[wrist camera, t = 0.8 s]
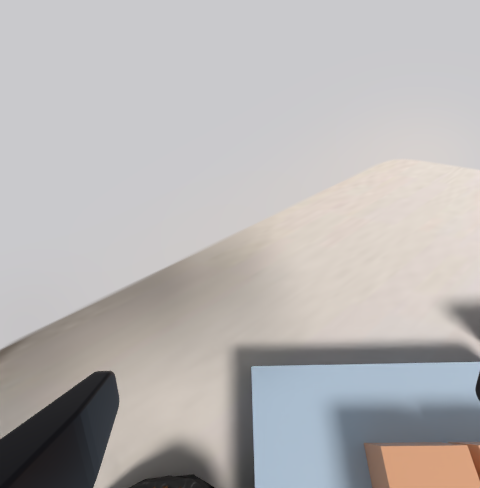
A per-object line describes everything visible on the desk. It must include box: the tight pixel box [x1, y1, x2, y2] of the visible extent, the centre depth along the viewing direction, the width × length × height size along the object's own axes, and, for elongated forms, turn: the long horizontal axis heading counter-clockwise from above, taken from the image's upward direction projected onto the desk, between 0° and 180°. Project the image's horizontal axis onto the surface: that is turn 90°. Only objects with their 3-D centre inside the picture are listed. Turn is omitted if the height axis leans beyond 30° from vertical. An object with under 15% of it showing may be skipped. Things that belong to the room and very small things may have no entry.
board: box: [251, 362, 480, 488], centre depth 15 cm, size 12×16×2 cm
